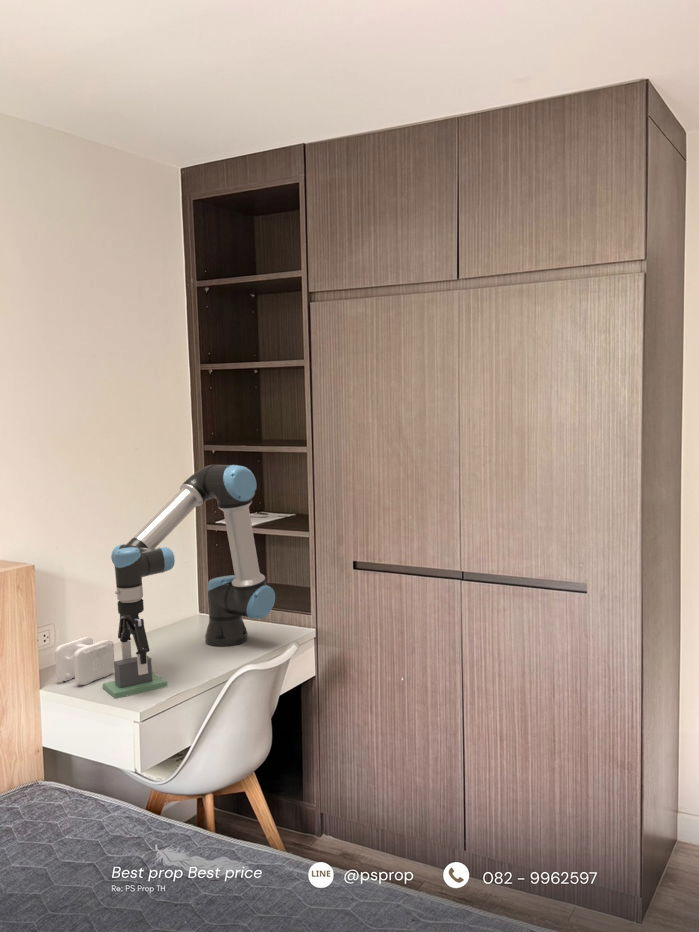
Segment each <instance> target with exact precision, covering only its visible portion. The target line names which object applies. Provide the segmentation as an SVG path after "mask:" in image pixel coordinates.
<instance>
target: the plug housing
mask: <svg viewBox="0 0 699 932" xmlns="http://www.w3.org/2000/svg"><path fill="white" fill-rule="evenodd" d="M152 664H153V663H152V657H150V656H148V655H147V665H148V673H147V674H143V675H138V662H137V656H132V658H128V659H124V660H122V659H120V660H114V671H113V672H114V681H115V684H116V685H117V686H118V687H119V688H123V687H128V686H132V685H136V684H141V683H145V682H150V681H152V673H153V665H152Z"/></svg>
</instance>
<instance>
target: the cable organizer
mask: <svg viewBox="0 0 699 932" xmlns="http://www.w3.org/2000/svg"><path fill="white" fill-rule="evenodd" d="M114 648H115V647H114V641H113V640H110V639H104V640H100V641H98V642H94V639H93V638H92V637H89V636H84V637H81V638H79V639H75V640H73V641H70V642H66V643H64V644H63V643H62V644H60V645H59V646H57V647H56V648H55V651H54V652H55V653H54V655H55V657H54V658H55V659H54V660H55V672H56V674H55V677H56V679H57V680H58V681H62V682H63V681H66V682H68V681H67V680H69V681H71V680H73V679H74V682H75V683H76V684H77V685H78V684H79V685H82V686H86V685H89V684H92V682H93V681H96V680H99V679H100V680H101V679H103V677H104V678H106V677H108V675H111V674H113V672H115V671H114V661H115V649H114ZM72 678H73V679H72ZM70 679H71V680H70Z"/></svg>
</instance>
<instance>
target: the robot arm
mask: <svg viewBox="0 0 699 932" xmlns="http://www.w3.org/2000/svg"><path fill="white" fill-rule="evenodd" d="M257 486H258V485H257V480H256V477H255V475H254V473H253V472H252V471H251V469H249V468H248V467H246V466H243V465H238V464H210V465H206V466H204V467H201V469H199V470H197V471H196V472H195V473H193V474H192V475H190V476H189V477H188V478H187V479H186V480H185V481H184V482H183V483H182V484H181V485H180V487H179V491H178V492H177V493H176V494H175V495H174V496H173V497H172V498H171V500H169V501H168V502H167V503H166V504H165V505H164V506H162V508H161V509H160V510H159V511H158V512H157V513H156V514H155V515H154V516H153V517H152V518H151V519H150V521H148V522H147V523H146V524H145V525H144V526H143V527H142V528H141V529H140V530H139V531H138V532H137V533H136V534H135V535H134V536H133V537H132V538H131V539H130V540H129V541H128V542H127V543H125V544H124V543H122V544H119V545H116V546H115V547H114V548H113V550H111V551H112V552H111V556H110V557H111V561H112V563H113V566H114V572H115V584H116V591H115V592H114V593H115V595H116V598H117V600H118V601H117V612H118V614H119V625H118V633H117V638H118V639H119V641H120V644H121V645H120V646H121V660H124V659H128V658H133V656H132V646H131V645H132V643H131V642H132V641H131V640H132V638H131V635H132V636H133V640H134V643H135V646H136V650H137V651H136V653H135V655H136V657H137V662H138V675H143V674H147V673H148V665H147V656H148V655H147V654H148V652H150V650H151V649H150V647H149V642H148V636H147V633H146V629H145V623H144V622H145V621H144V618H140V616H139V615H140V614H142V612H144V610H145V607H144V599H143V597H144V589H143V588H144V587H143V578H144V577H148V576H153V575H156V574H162V573H163V574H164V573H165V572H168V571H170V570H173V567H174V566H175V563H176V561H175V555H174V552H173V550H171V549H170V548H169V547H166V546H164V547H158V546H159V545H160V544H161V543H162V542H163V541H164V540H165V539H166V538H167V537H168V536H169V535H170V534H171V533H172V532H173V531H174V530H175V528H177V527H178V525H179V524H180V523H181V522H183V520H184V519H185V518H186V517H187V516H188V515H189V514H190V513H191V512H192V511H193V510H194V509H195V508H196V507H201V506H203V504H205V502H206V501H208V500H211V499H216V502H217V503H216V504H217V508H218V509H219V510H221V511H222V512H223V515H224V521H225V522H224V523H225V526H226V533H227V539H228V543H229V544H228V545H229V550H230V556H231V561H232V567H233V573H234V575H233V574H232V575H224V576H223V575H222V576H218V577H214V578H211V579H209V581H208V583H207V600H208V604H207V605H208V616H209V618H208V624H207V627H206V628H207V629H206V632H205V635H204V639H205V640H204V642H205V643H206V644H207V645H209V646H213V647H230V646H236V645H237V646H238V645H240V644H243V643H245V642H247V641H248V639H249V637H248V636H249V635H248V634H249V633H248V631H247V627H246V625H245V622H244V619H243V617H244V618H245V617H247V618H249V619H257V620H259V619H261V620H262V619H263V618H266V617H267V616H268V615H269V614H270V613H271V612H272V609H273V608H274V605H275V601H276V592H275V590H274V589H273V587H271V586H269V585H268V584H267V581H266V576H265V575H264V574H262V573H261V572H260V571H261V570H260V567H259V562H258V561H259V560H258V555H257V549H256V544H255V543H256V542H255V538H254V530H253V525H252V520H251V519H252V518H251V514H250V506H251V504H252V503H253V500H252V499H253V498H254V496H255V494H256V491H257ZM157 547H158V548H157Z"/></svg>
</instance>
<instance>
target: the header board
mask: <svg viewBox="0 0 699 932" xmlns="http://www.w3.org/2000/svg"><path fill="white" fill-rule="evenodd" d="M166 686H167V687H168V684H167V681H166V680H165V679H164V678H162V677H161V676H159V675H158V674H156V673H155V672H152V681H150V682H145V683H141V684H136V685H132V686H128V687H123V688H119V687H118V686H117V685H116V684H115V680H113V681H109V682H104V683H102V689H103V690H104V691H105V690H106V691H105V692H106V693H108V694H109V695H110V694H111V695H112V696H111V695H110V696H111V697H113V698H114V699H119V698H123V696H124V697H128V696H132V695H137V694H140V693H145V692H149V691H153V690H157V689H162V687H163V688H166ZM131 694H132V695H131ZM127 695H128V696H127Z"/></svg>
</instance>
